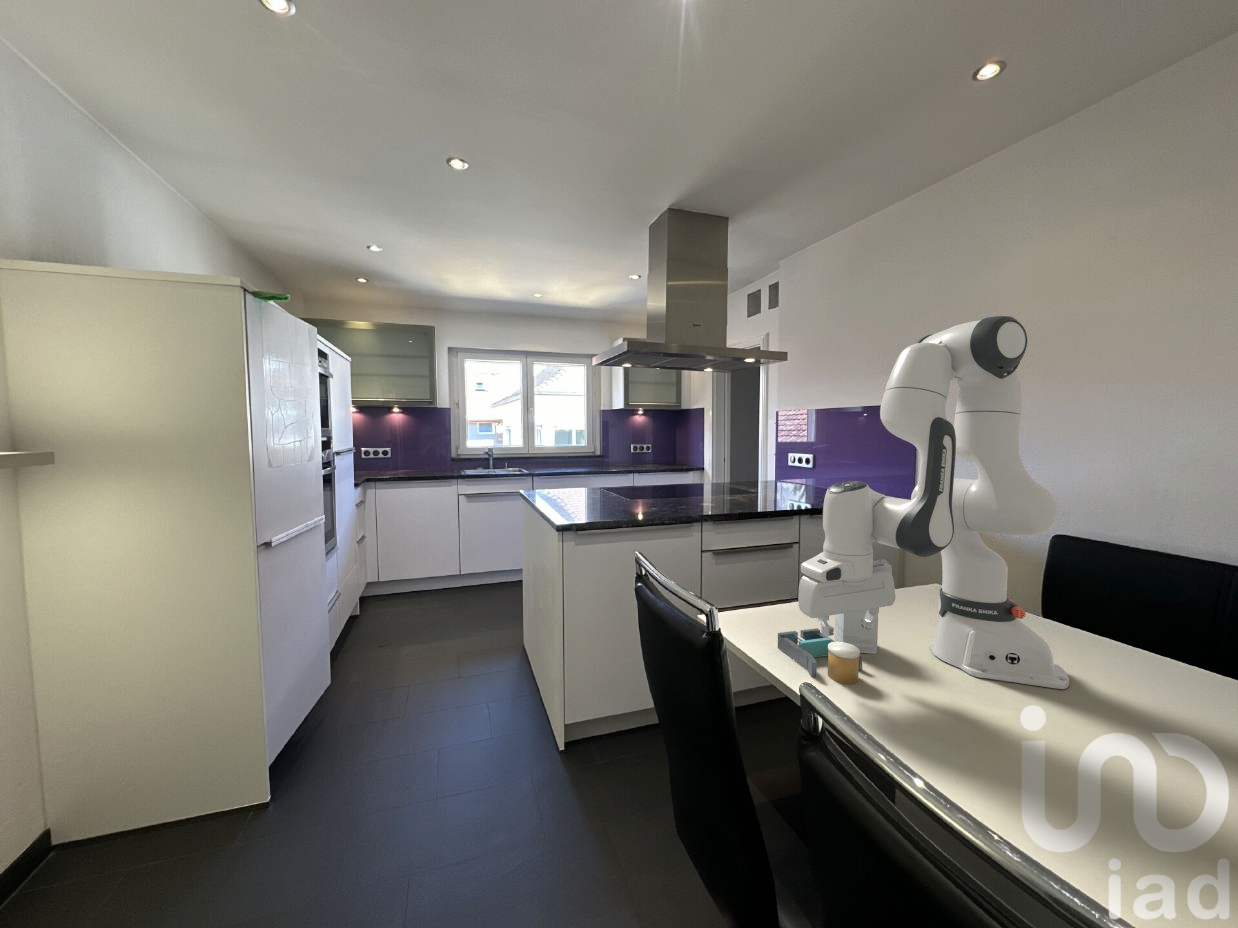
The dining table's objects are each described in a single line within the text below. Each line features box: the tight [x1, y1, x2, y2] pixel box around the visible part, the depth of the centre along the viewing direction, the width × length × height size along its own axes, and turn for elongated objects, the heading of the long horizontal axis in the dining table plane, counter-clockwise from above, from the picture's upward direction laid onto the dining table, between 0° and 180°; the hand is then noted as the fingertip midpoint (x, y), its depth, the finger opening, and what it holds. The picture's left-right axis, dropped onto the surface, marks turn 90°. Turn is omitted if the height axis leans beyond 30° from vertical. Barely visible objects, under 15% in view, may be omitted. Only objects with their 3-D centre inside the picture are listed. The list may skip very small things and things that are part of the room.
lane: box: [777, 627, 864, 678], centre depth 101 cm, size 13×12×4 cm
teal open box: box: [798, 635, 832, 658], centre depth 104 cm, size 8×7×4 cm
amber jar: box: [827, 641, 861, 685], centre depth 93 cm, size 6×6×6 cm
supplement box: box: [834, 610, 879, 655], centre depth 107 cm, size 7×7×13 cm
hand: (847, 631), depth 93 cm, fingers open, 8 cm apart
